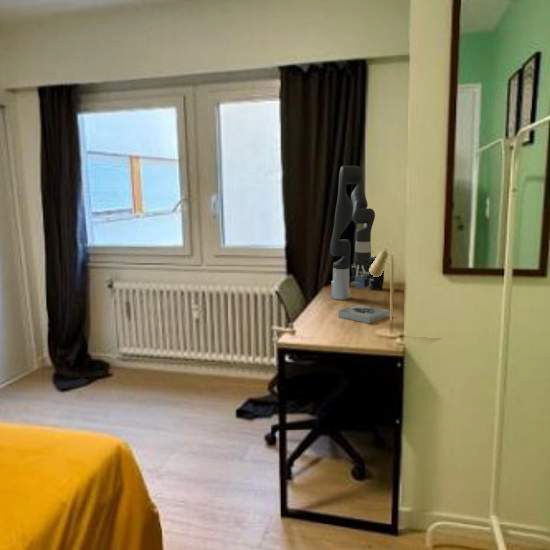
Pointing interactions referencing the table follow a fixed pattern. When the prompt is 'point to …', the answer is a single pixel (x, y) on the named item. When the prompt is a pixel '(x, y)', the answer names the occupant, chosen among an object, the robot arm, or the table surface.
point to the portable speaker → (376, 279)
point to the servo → (361, 282)
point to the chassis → (363, 313)
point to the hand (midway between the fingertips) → (362, 285)
